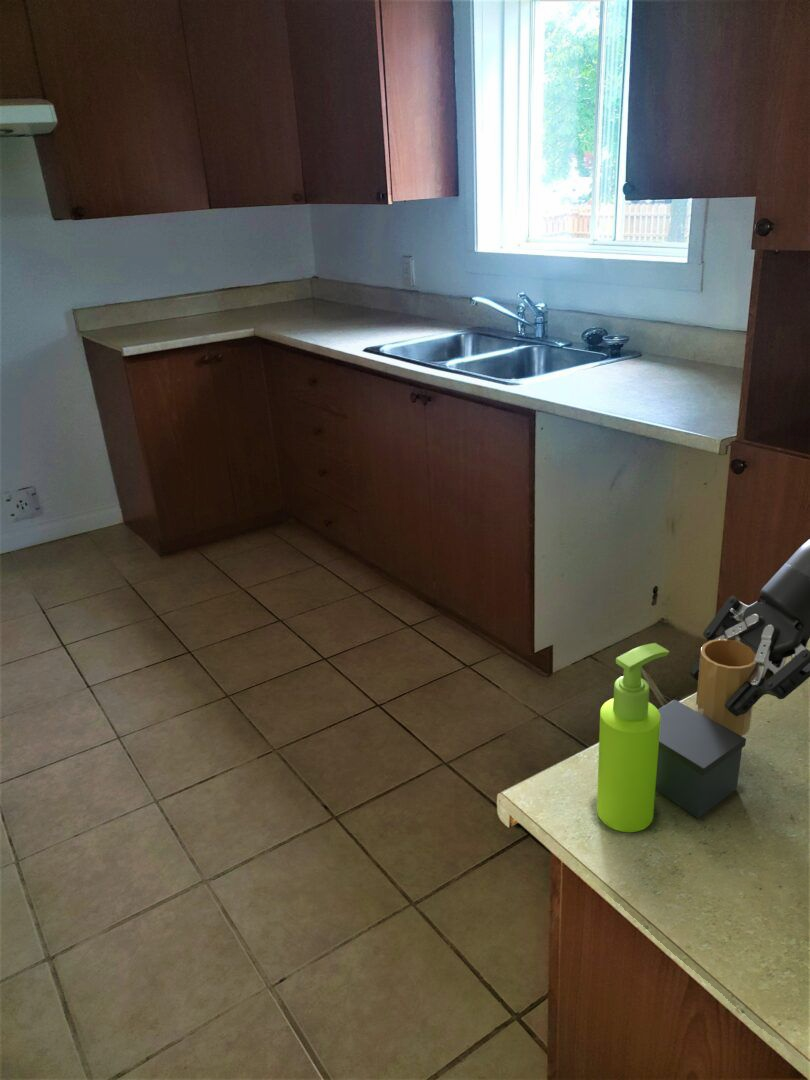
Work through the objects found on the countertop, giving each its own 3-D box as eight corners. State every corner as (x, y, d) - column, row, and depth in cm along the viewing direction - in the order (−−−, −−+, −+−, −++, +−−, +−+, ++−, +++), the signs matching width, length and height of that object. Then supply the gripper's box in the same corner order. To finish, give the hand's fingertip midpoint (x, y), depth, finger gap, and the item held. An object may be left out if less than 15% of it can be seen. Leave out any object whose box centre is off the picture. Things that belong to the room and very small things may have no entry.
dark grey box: (739, 789, 89) (746, 738, 86) (698, 820, 86) (704, 769, 83) (670, 747, 96) (674, 698, 93) (629, 774, 93) (632, 725, 90)
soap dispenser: (672, 813, 87) (686, 656, 78) (623, 840, 84) (632, 681, 76) (632, 781, 92) (641, 630, 83) (585, 806, 89) (589, 652, 80)
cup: (761, 723, 94) (770, 654, 90) (729, 745, 91) (737, 674, 87) (716, 700, 99) (722, 632, 95) (684, 720, 96) (689, 652, 92)
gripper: (755, 540, 95) (658, 648, 97) (847, 596, 82) (733, 718, 85) (788, 572, 98) (694, 675, 101) (882, 630, 86) (771, 747, 88)
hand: (712, 694), depth 93 cm, fingers closed on cup, 6 cm apart
